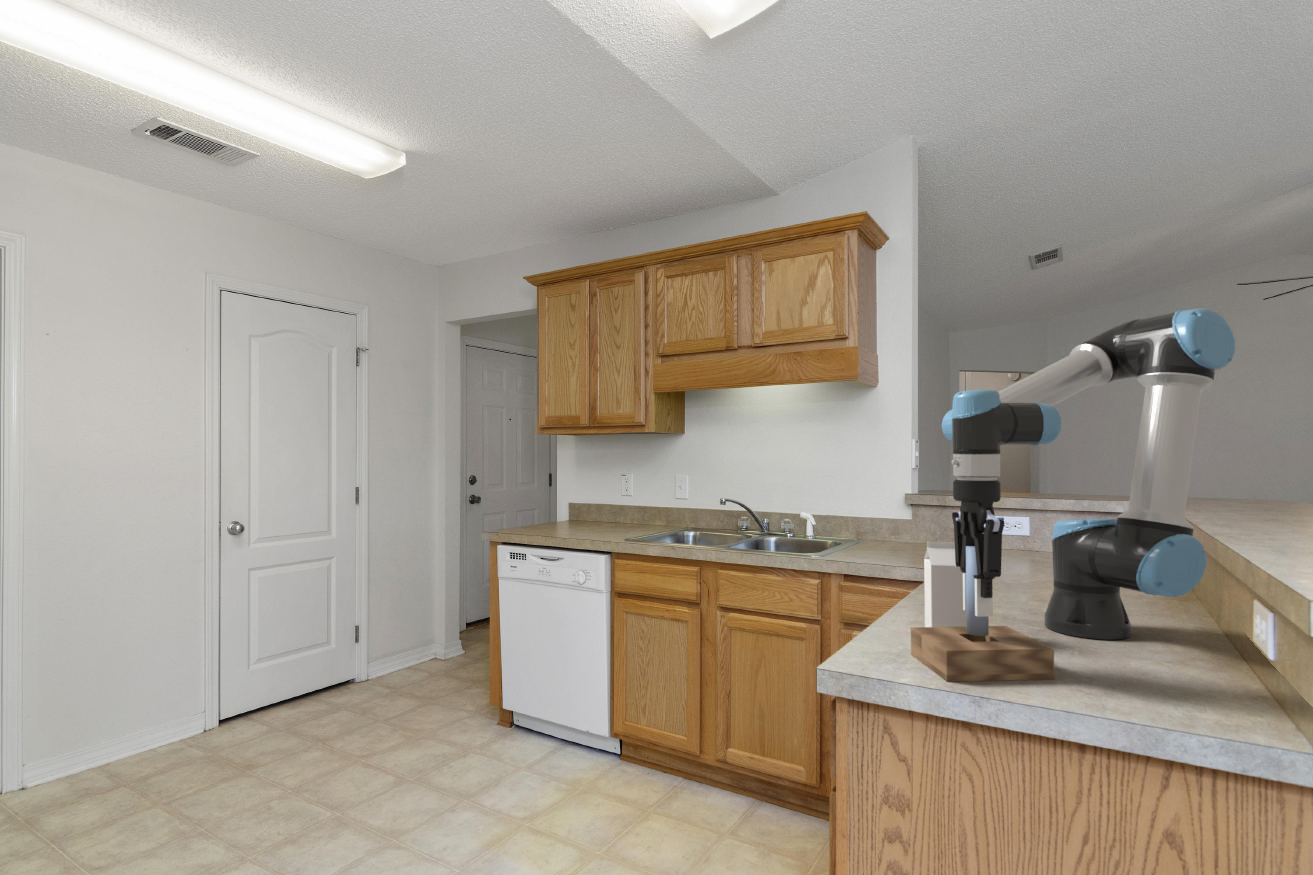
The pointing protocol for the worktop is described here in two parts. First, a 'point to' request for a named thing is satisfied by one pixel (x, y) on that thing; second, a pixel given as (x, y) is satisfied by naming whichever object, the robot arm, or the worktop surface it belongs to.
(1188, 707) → the worktop surface
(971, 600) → the pin
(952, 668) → the bore block
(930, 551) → the milk carton
